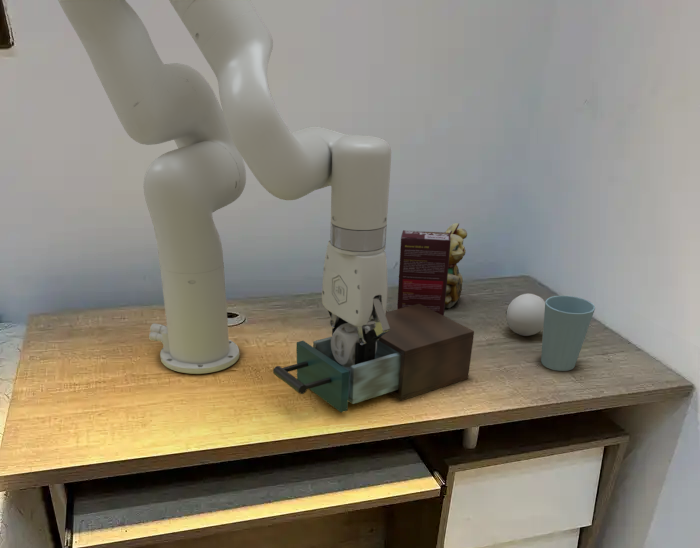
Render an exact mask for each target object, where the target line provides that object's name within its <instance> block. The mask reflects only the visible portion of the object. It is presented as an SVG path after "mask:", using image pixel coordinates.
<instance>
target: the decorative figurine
mask: <svg viewBox="0 0 700 548" xmlns="http://www.w3.org/2000/svg"><path fill="white" fill-rule="evenodd" d="M459 226H460V223H458V222H455V223H452V224H450V225H449V226H448V228H447V229H446V230H445V231H444V232H443V233H450V238H451V244H450V255H449V265H448V277H447V288H446V299H445V309H450V308H451V307H453V306H454V305H455V304H456V303H457V302H458V300H459V299H460V297H461V294H462V292H463V282H464V281H463V274H462V273H461V272H460V269H459V266H458V265H457V264H459V263H460V262H461V261H462V260H463V258H464V257H465V255H466V253H467V252H466V248H465V246H464V239H467V238H468V231H467V230H466V229H465V228H462V227H459Z"/></svg>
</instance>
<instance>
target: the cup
mask: <svg viewBox="0 0 700 548" xmlns="http://www.w3.org/2000/svg"><path fill="white" fill-rule="evenodd" d="M544 302H545V313H544V327H543V329H542V342H541V357H540V362H541V365H542V366H544V367H545V368H546V369H549V370H553V371H556V372H567V371H571V370H573V369H574V368H575V367H576V364H577V361H578V359H579V355H580V354H581V350H582V347H583V345H584V342H585V338H586V336H587V334H588V333H587V332H588V330H589V328H590V324H591V322H592V319H593V316H594V313H595V310H596V305H595V304H594V303H593V302H591V301H589V300H587V299H585V298H583V297H578V296H573V295H553V296H549V297H547V298H546V299H545V300H544Z"/></svg>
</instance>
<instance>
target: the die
mask: <svg viewBox="0 0 700 548" xmlns="http://www.w3.org/2000/svg"><path fill="white" fill-rule="evenodd" d="M368 331H370V327H369V326H365V333H367V332H368ZM331 335H332V334H331ZM331 337H332V338H331V350H332V353H333V356H334V358H335V359H336V361H337V362H338V363H339V364H341V365H343V366H346V367H351V366H352V365H355V348H356V343H359V339H358V331H357V327H355V326H353V325H351V324H350V323H345V324H342V325H340V326H339V327H338V328H337V329H336V330H335V331H334V333H333V335H332V336H331ZM376 351H377V342H376V347H375V354H376Z"/></svg>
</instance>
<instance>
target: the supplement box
mask: <svg viewBox="0 0 700 548" xmlns="http://www.w3.org/2000/svg"><path fill="white" fill-rule="evenodd" d="M450 244H451V238H450V233H444V232H441V231H421V230H420V231H419V230H407V229H406V230H404V229H403V230H402V233H401V236H400V247H399V249H400V250H399V266H398V267H399V269H398V286H397V287H398V288H397V303H396V305H397V308H396V309H400V308H404V307H408V306H412V305H416V304H421V305H423V306H425V307H427V308H429V309H431V310H433V311H435V312H437V313H439V314H441V315H443V316H445V310H446V308H445V299H446V288H447V277H448V265H449V255H450Z"/></svg>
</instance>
